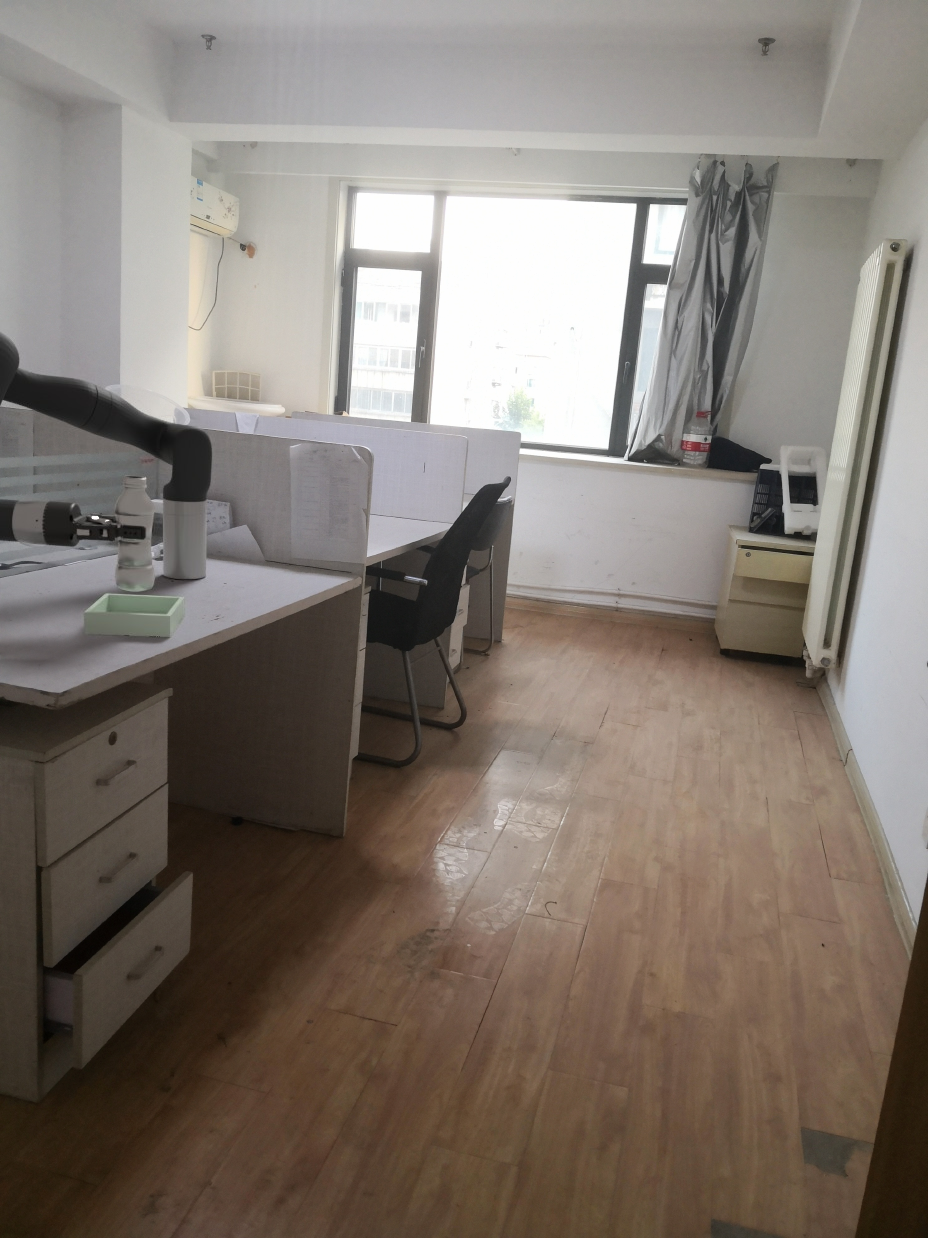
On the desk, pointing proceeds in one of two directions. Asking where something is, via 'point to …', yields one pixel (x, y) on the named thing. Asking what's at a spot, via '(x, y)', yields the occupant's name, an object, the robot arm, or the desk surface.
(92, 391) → the robot arm
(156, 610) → the green tray
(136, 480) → the plastic bottle
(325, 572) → the desk surface
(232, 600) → the desk surface
